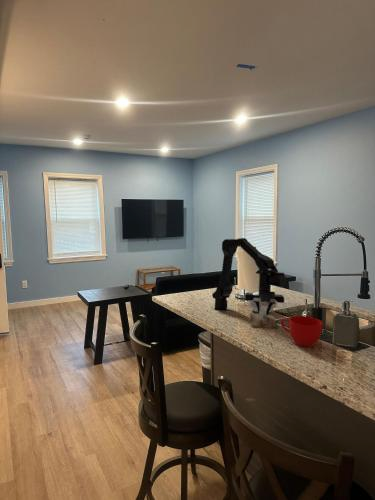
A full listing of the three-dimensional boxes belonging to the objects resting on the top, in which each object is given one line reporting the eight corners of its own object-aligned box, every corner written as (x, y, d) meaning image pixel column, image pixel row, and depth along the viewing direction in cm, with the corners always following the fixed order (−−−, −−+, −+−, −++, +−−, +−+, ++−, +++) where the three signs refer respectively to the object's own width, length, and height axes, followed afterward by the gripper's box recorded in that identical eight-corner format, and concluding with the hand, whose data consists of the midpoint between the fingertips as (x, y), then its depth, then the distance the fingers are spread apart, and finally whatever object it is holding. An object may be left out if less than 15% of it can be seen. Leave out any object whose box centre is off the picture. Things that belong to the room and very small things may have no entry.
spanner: (258, 319, 163) (259, 311, 163) (260, 313, 174) (261, 305, 173) (265, 320, 162) (266, 312, 162) (267, 313, 173) (267, 306, 173)
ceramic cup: (286, 334, 151) (287, 312, 150) (325, 344, 141) (327, 320, 140) (273, 341, 141) (275, 318, 140) (314, 353, 131) (316, 328, 130)
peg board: (251, 326, 160) (252, 318, 159) (250, 315, 179) (250, 307, 178) (277, 328, 158) (278, 320, 158) (273, 317, 177) (273, 309, 177)
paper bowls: (266, 306, 198) (266, 293, 197) (281, 313, 183) (282, 299, 183) (243, 308, 192) (243, 294, 192) (257, 316, 178) (258, 301, 177)
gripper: (246, 285, 160) (244, 317, 161) (286, 288, 157) (284, 320, 159) (245, 281, 171) (244, 311, 172) (283, 283, 168) (281, 314, 170)
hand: (263, 314), depth 168 cm, fingers closed on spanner, 3 cm apart
